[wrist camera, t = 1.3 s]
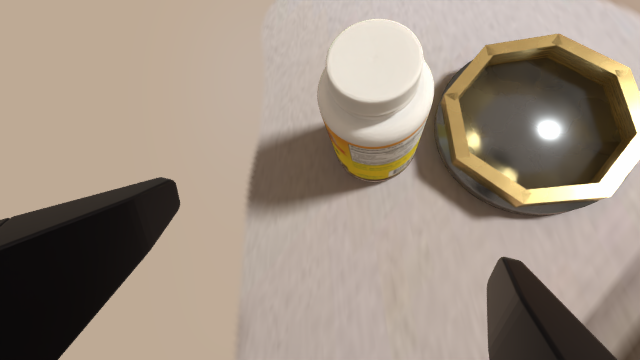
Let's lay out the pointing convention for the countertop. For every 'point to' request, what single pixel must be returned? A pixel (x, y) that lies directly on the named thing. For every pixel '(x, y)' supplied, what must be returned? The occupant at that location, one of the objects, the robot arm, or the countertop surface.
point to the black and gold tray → (540, 125)
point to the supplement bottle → (375, 98)
